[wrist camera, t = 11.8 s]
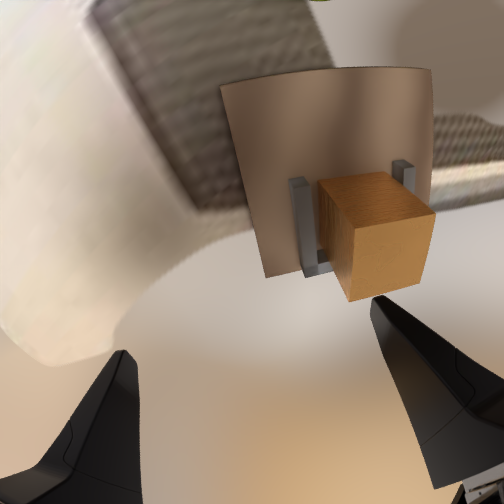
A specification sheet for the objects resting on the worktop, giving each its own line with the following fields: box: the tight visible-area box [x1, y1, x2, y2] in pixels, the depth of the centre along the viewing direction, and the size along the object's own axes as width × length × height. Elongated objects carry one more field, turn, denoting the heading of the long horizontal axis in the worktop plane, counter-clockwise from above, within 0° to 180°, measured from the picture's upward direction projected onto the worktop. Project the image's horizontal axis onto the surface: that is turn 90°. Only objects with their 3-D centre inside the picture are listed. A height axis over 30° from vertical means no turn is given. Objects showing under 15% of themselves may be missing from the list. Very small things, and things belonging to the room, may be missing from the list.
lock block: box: [317, 171, 436, 302], centre depth 17 cm, size 5×5×6 cm
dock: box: [220, 67, 433, 278], centre depth 18 cm, size 14×14×3 cm
